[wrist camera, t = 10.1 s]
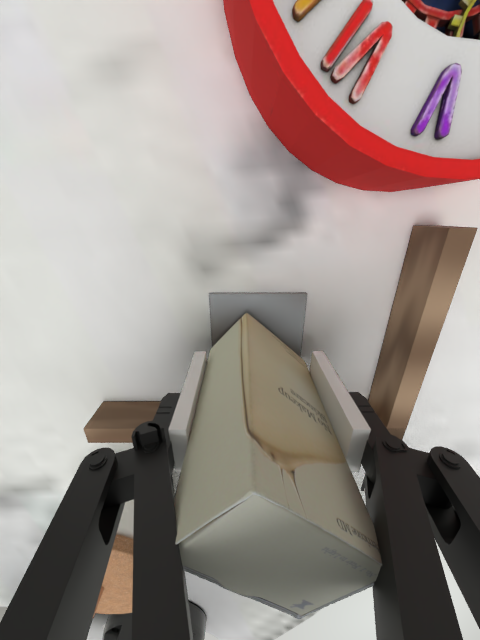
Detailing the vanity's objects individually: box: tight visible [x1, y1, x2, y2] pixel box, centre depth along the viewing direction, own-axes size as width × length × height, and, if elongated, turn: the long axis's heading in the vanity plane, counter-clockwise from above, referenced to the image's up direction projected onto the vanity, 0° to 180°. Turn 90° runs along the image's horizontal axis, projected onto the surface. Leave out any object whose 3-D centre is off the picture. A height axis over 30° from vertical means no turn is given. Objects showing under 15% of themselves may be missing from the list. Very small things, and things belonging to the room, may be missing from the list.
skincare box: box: [174, 313, 382, 619], centre depth 13 cm, size 6×4×12 cm
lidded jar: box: [93, 499, 134, 618], centre depth 22 cm, size 11×11×9 cm
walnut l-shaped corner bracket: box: [84, 226, 477, 443], centre depth 18 cm, size 16×25×3 cm, turn 90°
